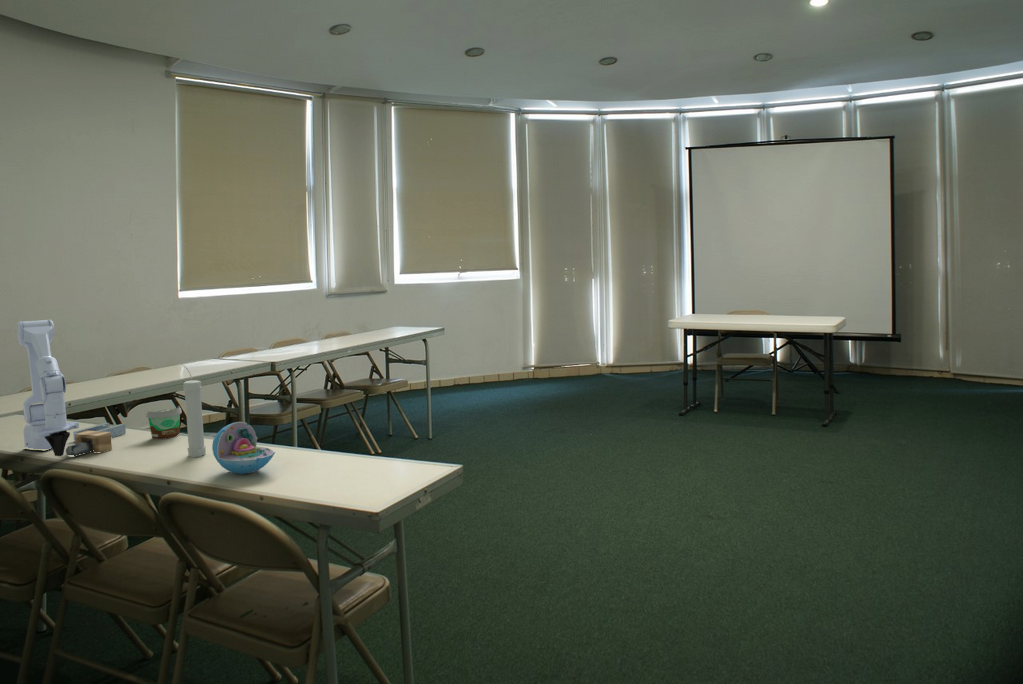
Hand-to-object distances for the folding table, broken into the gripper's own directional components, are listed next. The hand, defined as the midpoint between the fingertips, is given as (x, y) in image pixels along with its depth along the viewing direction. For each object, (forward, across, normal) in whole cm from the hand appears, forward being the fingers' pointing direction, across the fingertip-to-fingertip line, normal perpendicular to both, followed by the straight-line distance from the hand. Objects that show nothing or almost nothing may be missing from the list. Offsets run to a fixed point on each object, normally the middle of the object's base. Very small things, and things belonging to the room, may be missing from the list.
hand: (59, 455), depth 234 cm
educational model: (+2, +5, -66) cm, 66 cm away
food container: (+2, +35, -11) cm, 37 cm away
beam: (+2, +13, 0) cm, 13 cm away
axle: (+2, +11, 0) cm, 11 cm away
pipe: (+2, +17, -38) cm, 42 cm away
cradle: (+2, +28, +13) cm, 31 cm away
